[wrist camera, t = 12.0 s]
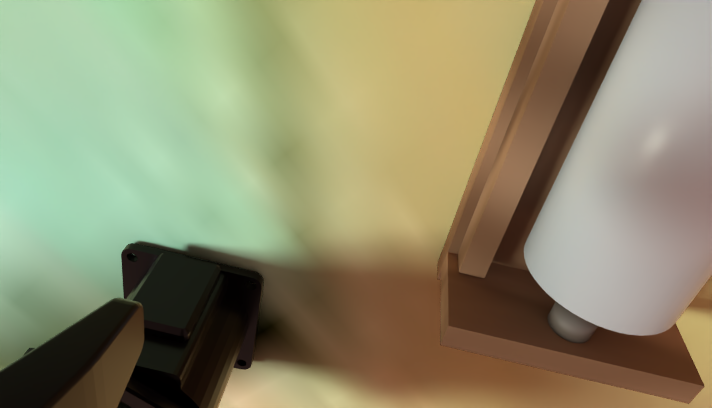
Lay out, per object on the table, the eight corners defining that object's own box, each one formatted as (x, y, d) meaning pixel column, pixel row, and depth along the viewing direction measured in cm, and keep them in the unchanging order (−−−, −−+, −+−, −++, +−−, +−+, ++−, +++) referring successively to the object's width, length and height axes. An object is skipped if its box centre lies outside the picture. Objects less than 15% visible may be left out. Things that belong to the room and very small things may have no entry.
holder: (641, 311, 24) (681, 412, 20) (437, 263, 24) (436, 354, 20) (994, -191, 14) (1223, -195, 10) (639, -277, 14) (722, -318, 10)
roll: (650, 247, 21) (701, 355, 17) (515, 214, 21) (532, 314, 17) (834, -37, 15) (986, 19, 11) (648, -82, 15) (726, -43, 11)
